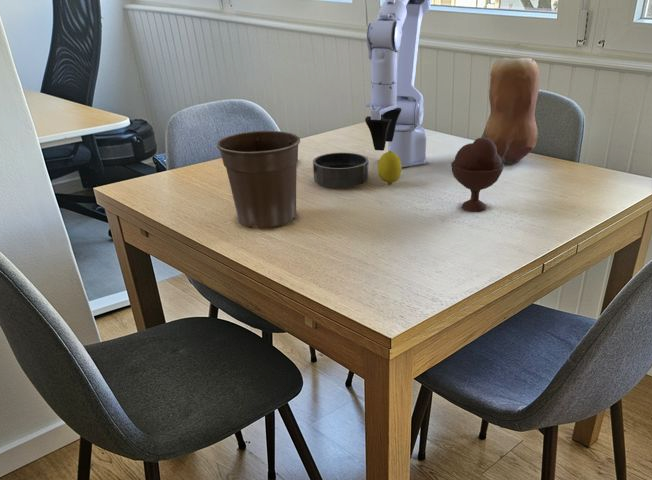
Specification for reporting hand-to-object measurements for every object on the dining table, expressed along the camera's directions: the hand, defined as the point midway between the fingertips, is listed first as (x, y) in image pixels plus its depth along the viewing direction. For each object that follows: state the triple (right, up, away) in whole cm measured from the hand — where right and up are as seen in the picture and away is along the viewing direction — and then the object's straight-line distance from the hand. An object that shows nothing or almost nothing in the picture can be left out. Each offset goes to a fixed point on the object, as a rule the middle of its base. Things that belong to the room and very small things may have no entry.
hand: (383, 145), depth 143 cm
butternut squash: (+33, +2, +20) cm, 38 cm away
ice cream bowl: (+19, -16, -8) cm, 27 cm away
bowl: (-10, -6, +7) cm, 14 cm away
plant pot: (-25, -20, -13) cm, 34 cm away
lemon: (+1, -8, +5) cm, 9 cm away
